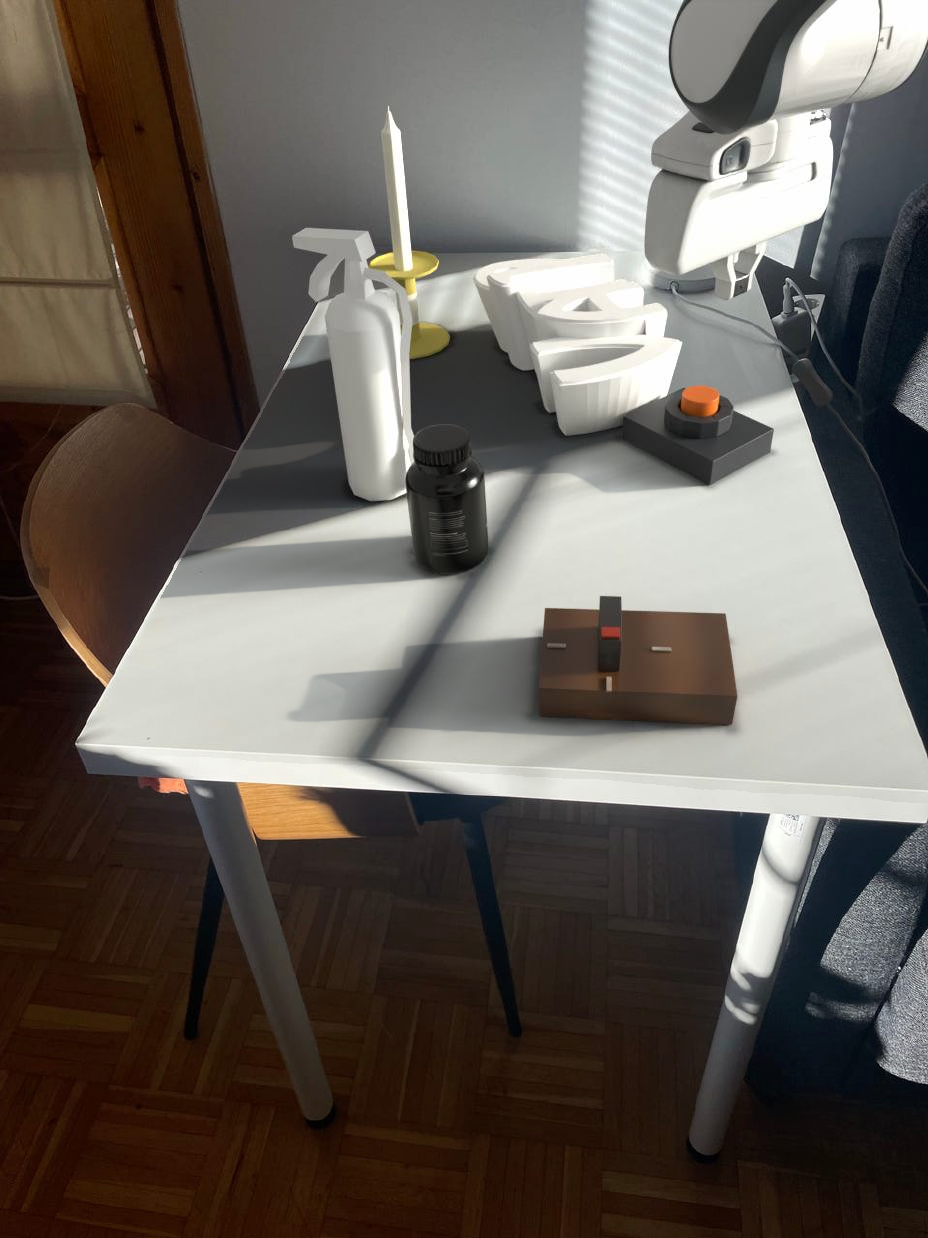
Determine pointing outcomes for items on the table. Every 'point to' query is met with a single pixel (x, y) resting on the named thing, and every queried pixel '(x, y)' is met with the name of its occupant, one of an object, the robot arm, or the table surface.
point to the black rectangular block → (609, 633)
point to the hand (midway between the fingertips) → (732, 294)
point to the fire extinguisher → (366, 362)
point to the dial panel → (639, 668)
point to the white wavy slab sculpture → (580, 337)
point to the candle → (406, 248)
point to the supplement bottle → (446, 501)
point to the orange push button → (700, 401)
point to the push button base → (697, 437)
